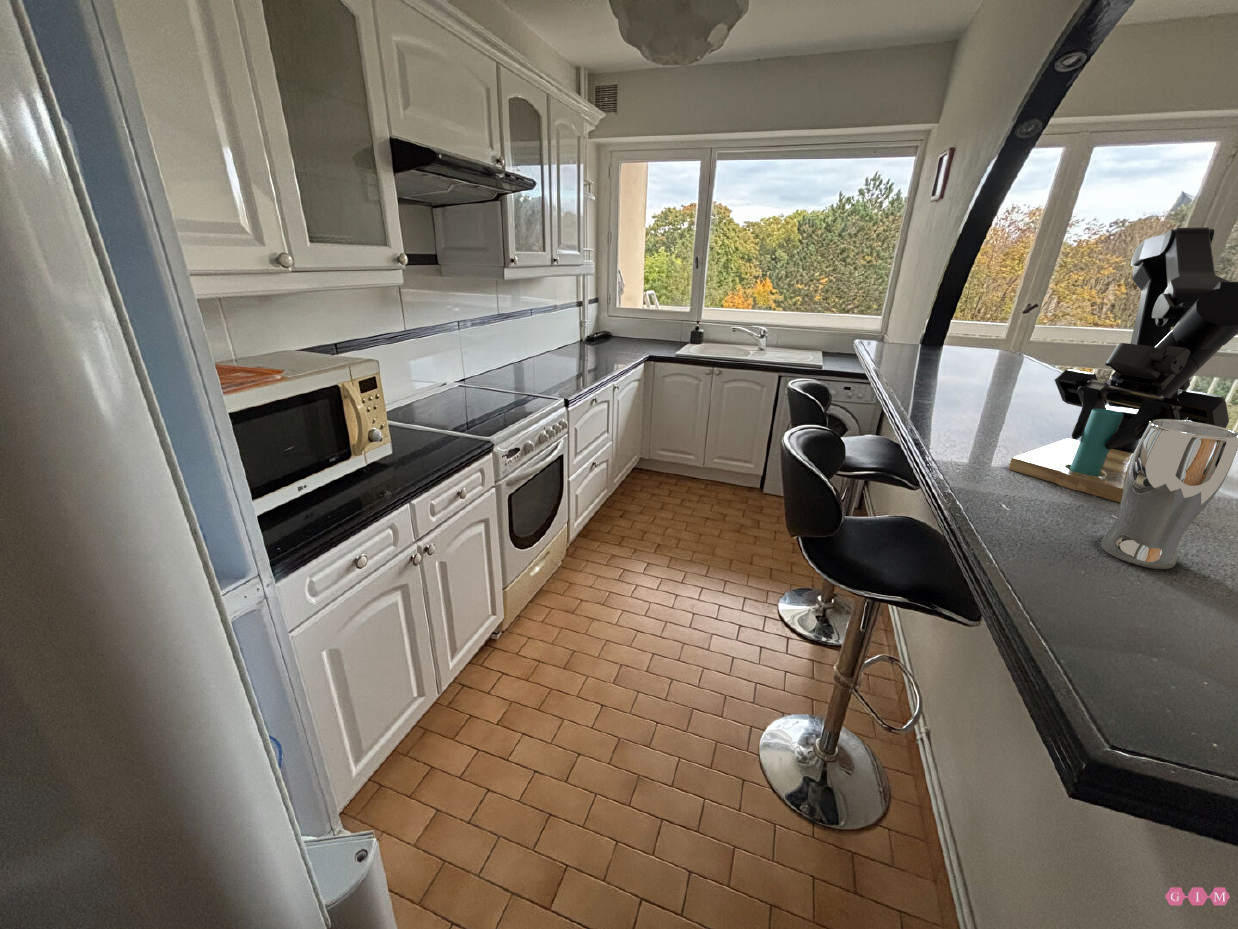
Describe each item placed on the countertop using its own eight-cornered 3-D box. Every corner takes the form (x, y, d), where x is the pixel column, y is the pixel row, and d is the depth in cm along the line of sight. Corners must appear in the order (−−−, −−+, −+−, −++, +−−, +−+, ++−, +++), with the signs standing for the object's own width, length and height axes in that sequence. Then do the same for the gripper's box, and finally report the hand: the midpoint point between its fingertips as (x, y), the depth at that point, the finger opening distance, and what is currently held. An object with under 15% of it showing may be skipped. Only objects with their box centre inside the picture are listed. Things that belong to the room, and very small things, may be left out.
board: (1063, 448, 90) (1067, 438, 89) (1171, 476, 79) (1177, 464, 78) (1006, 469, 80) (1010, 457, 80) (1120, 504, 69) (1126, 490, 68)
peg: (1071, 476, 78) (1097, 407, 74) (1099, 484, 75) (1128, 413, 71) (1061, 480, 77) (1087, 410, 72) (1089, 488, 74) (1118, 416, 70)
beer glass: (1198, 576, 53) (1269, 441, 48) (1121, 567, 54) (1181, 435, 49) (1148, 542, 59) (1205, 420, 54) (1081, 535, 61) (1129, 416, 55)
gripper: (1085, 315, 77) (1009, 391, 78) (1259, 331, 60) (1160, 426, 61) (1101, 365, 82) (1030, 435, 83) (1265, 392, 65) (1174, 479, 66)
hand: (1089, 442), depth 73 cm, fingers open, 4 cm apart
